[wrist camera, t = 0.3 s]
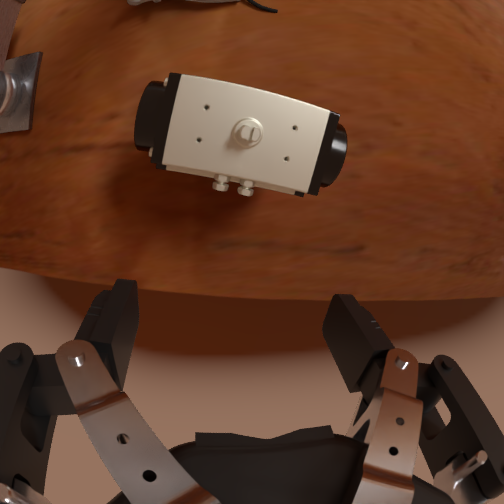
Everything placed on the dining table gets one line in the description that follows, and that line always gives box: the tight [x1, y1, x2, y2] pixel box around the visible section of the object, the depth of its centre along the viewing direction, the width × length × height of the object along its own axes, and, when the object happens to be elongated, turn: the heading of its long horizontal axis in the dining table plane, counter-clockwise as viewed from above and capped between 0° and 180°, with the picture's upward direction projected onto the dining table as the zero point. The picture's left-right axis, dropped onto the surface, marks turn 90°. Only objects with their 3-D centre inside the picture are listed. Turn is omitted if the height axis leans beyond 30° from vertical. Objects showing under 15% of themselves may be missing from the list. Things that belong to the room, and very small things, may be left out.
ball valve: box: [134, 73, 347, 197], centre depth 27 cm, size 18×8×18 cm, turn 76°
